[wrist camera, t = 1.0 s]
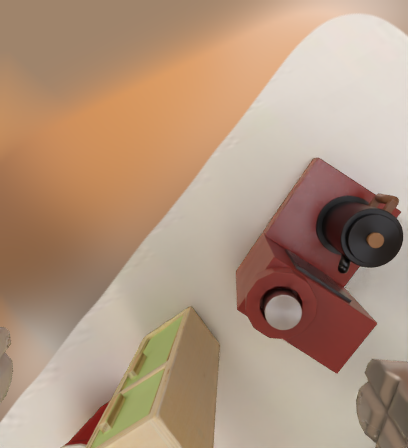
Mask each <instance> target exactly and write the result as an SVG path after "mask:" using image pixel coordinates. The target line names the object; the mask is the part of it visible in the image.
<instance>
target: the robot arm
mask: <svg viewBox="0 0 408 448" xmlns="http://www.w3.org/2000/svg"><path fill="white" fill-rule="evenodd" d="M10 344H11V341H10V333H9V331H8V330H7V329H6V328H4V327H0V404H1V403H2V401H3V400H4V397H5V396H6V394H7V392H8V389H9V386H10V383H11V379H12V372H13V368H12V367H13V366H12V360H11V359H10V358H9V357H8V355H7V354H6V353H5V351H6V350H7V348H8V347H9V346H10ZM365 375H366V377H367V379H368V382H367V383H366V384H364V385H363V386H362V387H361V388H360V389H359V392H358V396H357V400H356V405H357V415H358V419H359V423H360V425H361V427H362V429H363V431H364V433H365V434H366V435H367V436H368V437H369V438H371V439H372V440H373V441H374V442H375V443H376V447H375V448H408V362H404V361H391V360H379V359H372V360H371V361H370V362H369V363H368V365H367V368H366V371H365Z"/></svg>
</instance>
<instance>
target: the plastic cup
mask: <svg viewBox="0 0 408 448" xmlns="http://www.w3.org/2000/svg"><path fill="white" fill-rule="evenodd" d="M109 402H110V401H109ZM109 402H108V403H106V404H105V405H103V406H102V407H101V408H100V409H99V410H98V411H97V412H96V413H95V415H94V416H93V417H92V418H90V419H89V420H88V421H87V423H86V424H85V425H84V426H83V427H82V428H81V429H80V430H79V431H78V432H77V434H76V435H75V436H74V437H73V438H72V439H71V440H70V441H69V442H68V443H67V444H65V445H64V446H62V447H61V448H85V447H86V445H87V444H88V442H89V440H90V438H91V436H92V434H93V432H94V430H95V428H96V427H97V425H98V423H99V421H100V419H101V417H102V415H103V413H104V411H105V410H106V408H107V406H108V404H109Z"/></svg>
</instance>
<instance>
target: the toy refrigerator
mask: <svg viewBox="0 0 408 448" xmlns="http://www.w3.org/2000/svg"><path fill="white" fill-rule="evenodd" d="M219 351H220V345H219V343H218V342H217V340H216V339H215V337H214V336H213V335H212V333H211V332H210V331H209V329H208V328H207V327H206V325H205V324H204V323H203V321H202V320H201V319H200V317H199V316H198V315H197V313H196V312H195V311H194V309H193V308H192V307H188V308H187V309H185V310H184V311H182V312H181V313H179V314H178V315H176V316H175V317H173V318H172V319H170V320H169V321H167V322H166V323H164V324H163V325H161V326H160V327H158V328H157V329H155V330H154V331H152V332H151V333H149V334H148V335H147V336H145V337H144V338H143V340H142V342H141V344H140V346H139V348H138V350H137V352H136V354H135V356H134V357H133V359H132V361H131V363H130V365H129V367H128V369H127V371H126V373H125V374H124V376H123V378H122V380H121V382H120V384H119V386H118V387H117V389H116V391H115V393H114V395H113V397H112V399H111V400H110V402H109V404H108V406H107V408H106V410H105V411H104V413H103V415H102V417H101V419H100V421H99V423H98V425H97V427H96V428H95V430H94V432H93V434H92V436H91V438H90V440H89V442H88V444H87V445H86V447H85V448H213V444H214V428H215V411H216V396H217V382H218V367H219Z"/></svg>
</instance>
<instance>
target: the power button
mask: <svg viewBox="0 0 408 448" xmlns="http://www.w3.org/2000/svg"><path fill="white" fill-rule="evenodd" d="M263 309H264V314H265V318H266V320H267V322H268V323H269V324H270V325H271V326H272V327H274V328H276V329H279V330H287V329H291V328H293V327H294V326H296V325H297V324H298V323H299V321H300V319H301V317H302V308H301V305H300V303H299V301H298V299H297V297H296V296H295V294H294V293H293V292H291V291H290V290H288V289H285V288H277V289H274V290H272V291H270V292H269V293H268V294H267V295H266V296H265V298H264V301H263Z"/></svg>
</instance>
